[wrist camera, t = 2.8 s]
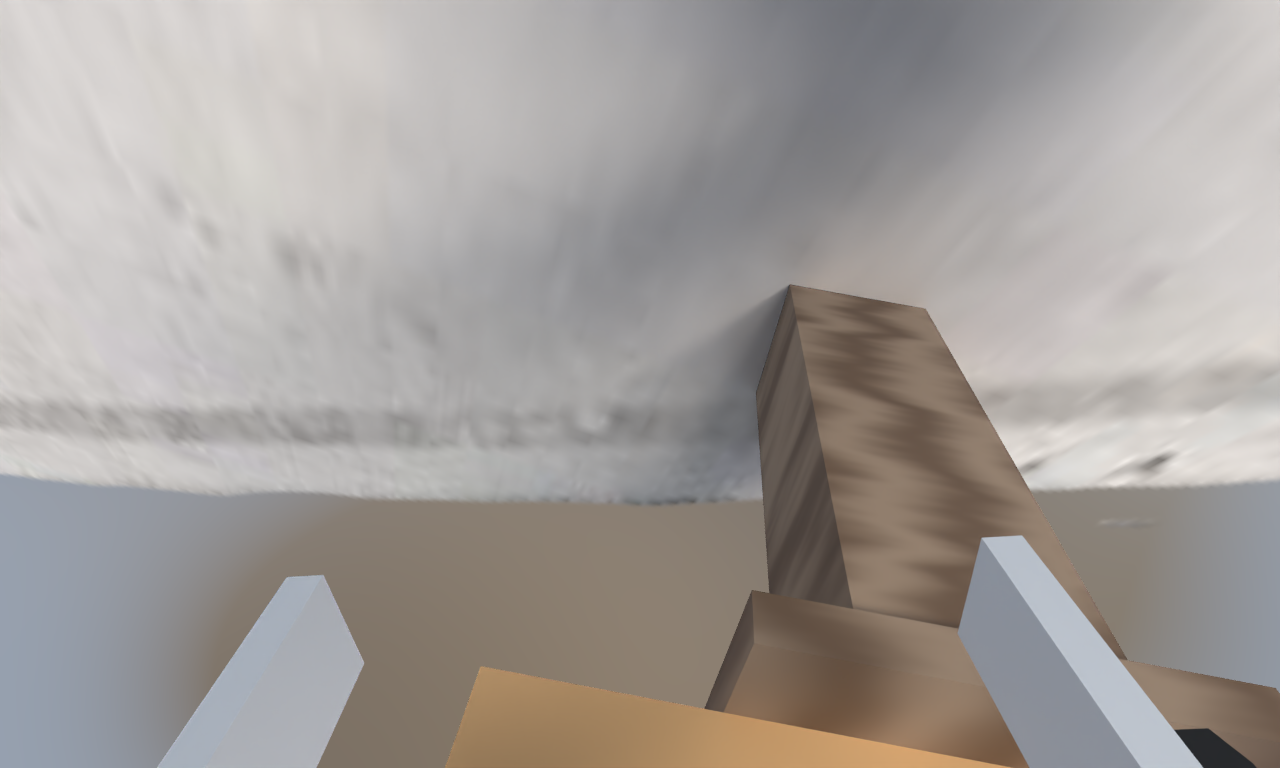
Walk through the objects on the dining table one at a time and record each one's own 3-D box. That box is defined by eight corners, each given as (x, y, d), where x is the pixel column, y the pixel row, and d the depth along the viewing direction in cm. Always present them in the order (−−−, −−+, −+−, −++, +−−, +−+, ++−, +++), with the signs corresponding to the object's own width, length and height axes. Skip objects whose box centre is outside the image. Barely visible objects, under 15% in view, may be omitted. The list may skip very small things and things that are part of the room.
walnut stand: (706, 394, 51) (686, 797, 26) (738, 262, 44) (753, 643, 19) (918, 433, 50) (1100, 877, 26) (986, 306, 43) (1322, 750, 19)
